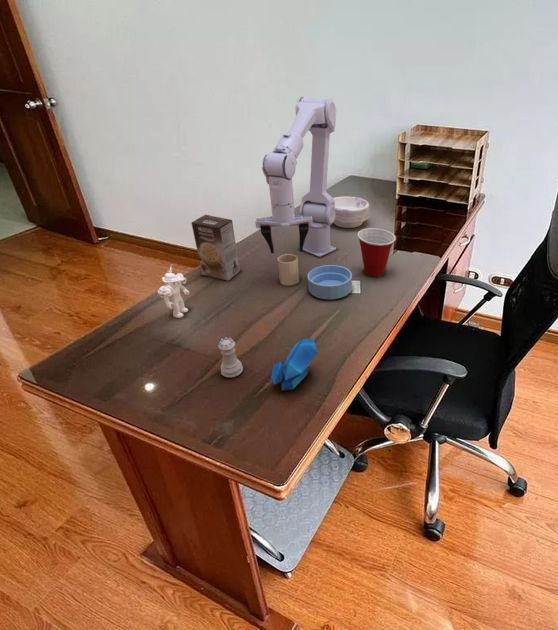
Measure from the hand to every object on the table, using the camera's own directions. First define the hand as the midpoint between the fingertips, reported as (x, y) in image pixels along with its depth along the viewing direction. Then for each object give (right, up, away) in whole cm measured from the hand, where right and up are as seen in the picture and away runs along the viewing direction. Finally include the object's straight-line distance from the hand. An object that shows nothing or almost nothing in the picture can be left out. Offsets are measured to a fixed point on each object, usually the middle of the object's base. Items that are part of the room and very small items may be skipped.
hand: (286, 251), depth 119 cm
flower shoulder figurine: (-25, -17, -10) cm, 31 cm away
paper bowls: (+14, +16, +42) cm, 47 cm away
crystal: (+8, -31, -29) cm, 43 cm away
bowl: (+12, -10, +2) cm, 16 cm away
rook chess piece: (-6, -29, -27) cm, 41 cm away
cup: (0, -8, +5) cm, 9 cm away
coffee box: (-20, -5, +8) cm, 23 cm away
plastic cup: (+24, -5, +11) cm, 27 cm away
